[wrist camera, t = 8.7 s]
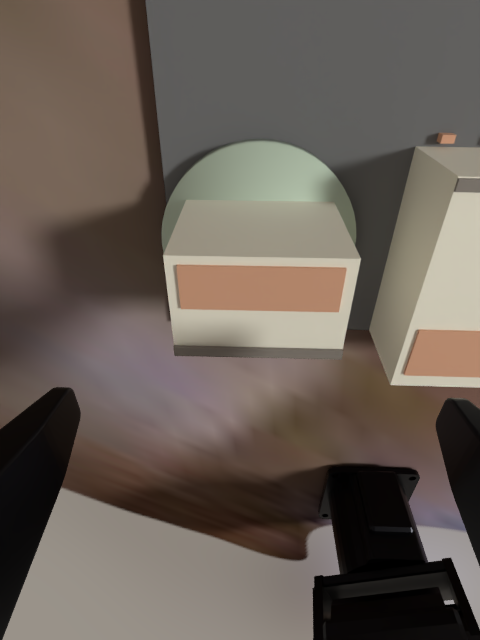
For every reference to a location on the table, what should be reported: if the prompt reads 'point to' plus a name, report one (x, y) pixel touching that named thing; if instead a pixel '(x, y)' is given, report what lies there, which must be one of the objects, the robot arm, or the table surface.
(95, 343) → the table surface
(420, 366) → the cream labeled box
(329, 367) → the table surface
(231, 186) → the coaster
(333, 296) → the cream block
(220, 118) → the mat
